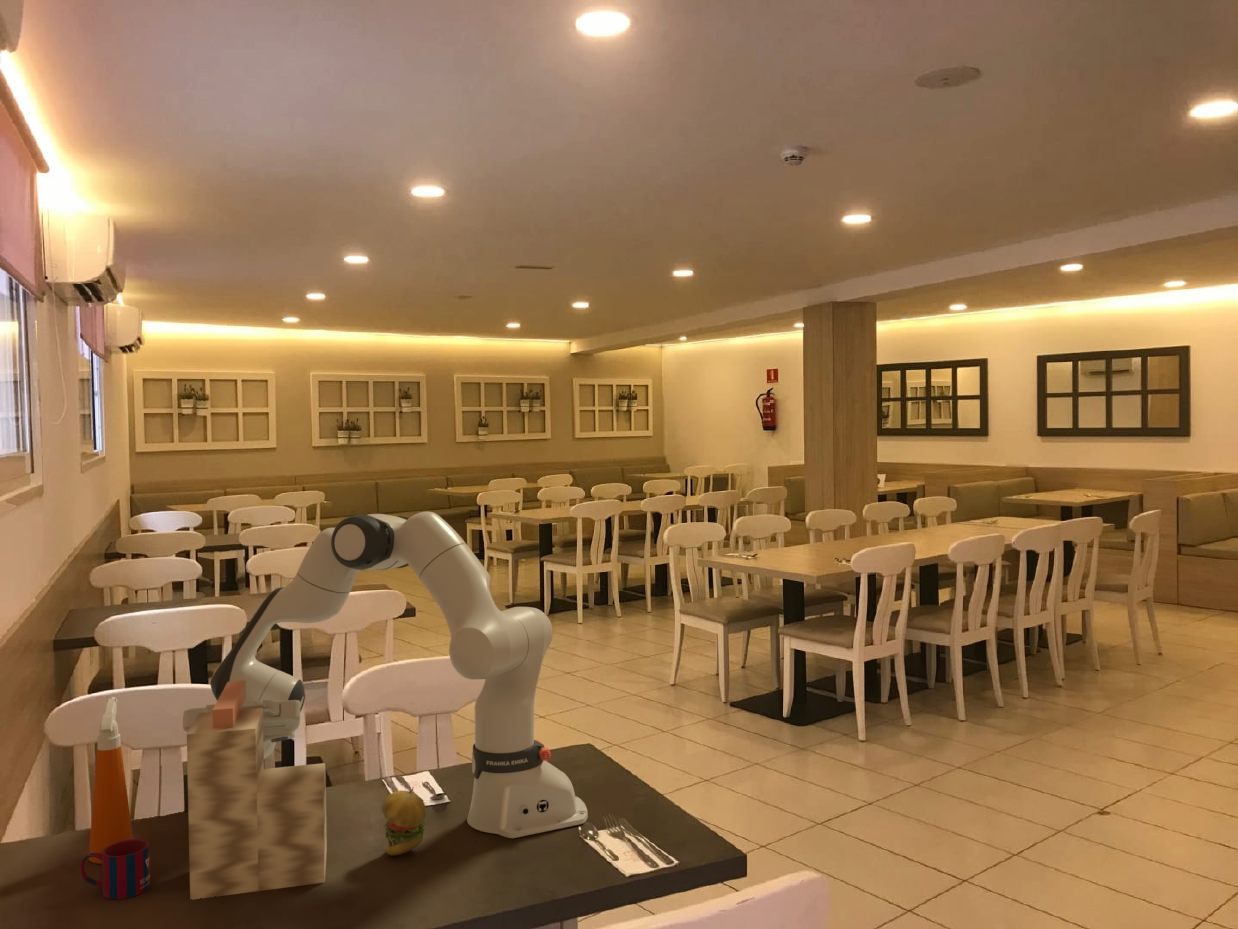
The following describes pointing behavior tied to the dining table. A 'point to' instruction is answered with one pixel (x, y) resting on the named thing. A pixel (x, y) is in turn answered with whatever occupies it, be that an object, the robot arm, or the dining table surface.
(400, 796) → the hamburger
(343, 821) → the dining table surface
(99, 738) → the spray bottle
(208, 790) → the stepped stand
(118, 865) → the mug
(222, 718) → the bar
